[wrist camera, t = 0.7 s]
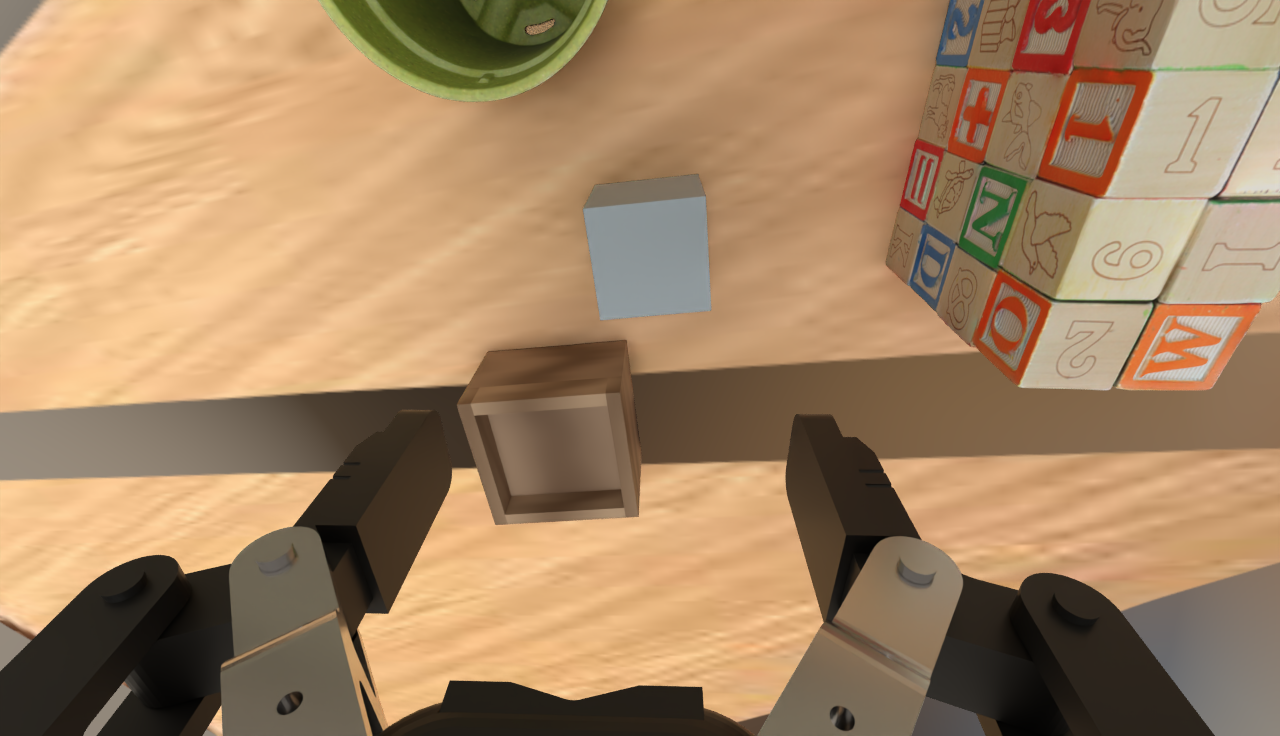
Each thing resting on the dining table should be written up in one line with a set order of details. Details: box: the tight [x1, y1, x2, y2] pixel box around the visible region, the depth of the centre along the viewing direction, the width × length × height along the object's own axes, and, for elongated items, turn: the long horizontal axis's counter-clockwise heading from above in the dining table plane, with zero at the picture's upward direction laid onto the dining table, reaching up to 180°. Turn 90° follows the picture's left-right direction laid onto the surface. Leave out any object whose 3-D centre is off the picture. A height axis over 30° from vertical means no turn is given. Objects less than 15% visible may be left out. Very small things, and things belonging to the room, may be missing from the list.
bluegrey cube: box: [583, 174, 711, 320], centre depth 26 cm, size 5×5×5 cm
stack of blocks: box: [886, 0, 1280, 390], centre depth 18 cm, size 21×6×12 cm, turn 0°
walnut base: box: [457, 340, 641, 525], centre depth 31 cm, size 8×8×6 cm
